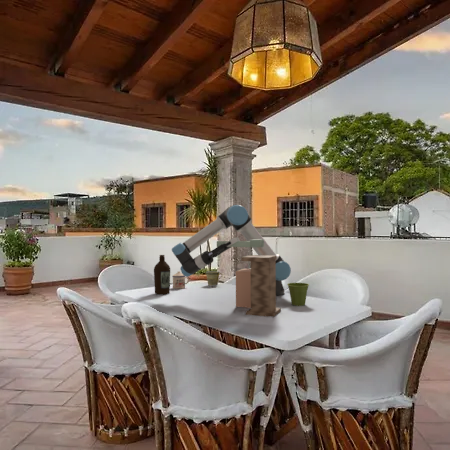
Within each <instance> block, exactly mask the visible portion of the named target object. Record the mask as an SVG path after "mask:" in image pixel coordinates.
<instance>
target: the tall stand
mask: <svg viewBox="0 0 450 450" xmlns="http://www.w3.org/2000/svg"><path fill="white" fill-rule="evenodd" d="M240 260H241V262H250V269H251V308H249V309H248V310H246V311H245V315H246V316H254V317H255V316H256V317H257V316H258V317H270V318H274V317H276V316H277V315H278V314H279V313H280V312H281V311H282V308H281V307H277V295H276V260H277V256H271V255H258V254H249V255H245V256H241V258H240Z"/></svg>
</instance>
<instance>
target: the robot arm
mask: <svg viewBox="0 0 450 450" xmlns="http://www.w3.org/2000/svg"><path fill="white" fill-rule="evenodd" d="M252 220H253V219H252V218H251V217H250V215H249V213H248V210H247V209H246V207H245V206H243V205H240V204H233V205H232V206H228V207H227V208H226V209H225V210H224V211H223V212H222V213H220V214H219V215H218V216H217V217H216V219H215V220H213V221H212V222H211V223H209V224H208V225H206V226H205V227H203V228H202V229H201V230H199V231H198V232H195V234H194V235H192V236H191V237H189V238H188V239H186V240H185V241H183V242H179V243H177V244H176V245H174V246H173V247H172V248H171V252H172V253H173V255H174V256H175V257H176V259H177V261H178V262H179V263H180V265H181V266H180V273H182V274H183V275H184V276H185V277H188V278H189V277H191V276H192V275H194V274H195V273H198V272H199V271H201V270H202V269H205V267H207V266H208V265H211V264H212V263H213V262H214V259H215V258H218V256H220V255H221V254H223V253H224V252H226V251H228V250H230V249H231V248H232V247H229V246H231V245H232V244H234V243H236V242H237V241H241V240H240V238H239V237H238V236H237V237H236V236H234V237H233V238H231V239H229V240H227V241H228V242H226V243H225V244H221V245H220V246H218V247H217V246H216V247H215V248H213V249H212V250H210V251H208V250H205V251H204V252H201V254H198V255H197V256H195V257H194V258H193V256H192V255H191V253H192V252H193V251H195V250H196V249H198V248H199V247H200V246H202V245H203V244H204V243H206V242H208V241H209V240H210V239H211V238H213V237H214V236H217V234H219V233H220V232H221V231H223V230H227V229H229V228H230V227H232V228H233V229H234V230H235V231H236V232H240V233H241V235H242V236H243V238H244V239H245V241H250V240H253V239H264V237H263V236H262V234H260V232H259V231H258V230H257V228H256V227H255V226H254V225H253V223H252ZM251 248H252V249H253V250H254V252H255V253H256V255H271V256H277V260H276V296H282V295H285V289H284V285H283V284H284V283H283V282H282V281H285V280H287V279H288V278H289V277H290V276H291V272H292V271H291V269H292V268H291V266H290V264H289V263H288V262H286V261H284V259H283V258H282V257H281V255H280V254H278V253H276V252H275V251H274V250H273V248H272V247H271V246H270V245H269V244H268V243H267V241H266V240H265V239H264V247H251Z"/></svg>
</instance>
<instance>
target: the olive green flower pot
mask: <svg viewBox="0 0 450 450" xmlns="http://www.w3.org/2000/svg"><path fill="white" fill-rule="evenodd" d="M220 275H221V276H220ZM205 276H206V281H207V285H208V286H209V287H217V286H218V284H219V280H220V279H221V278H222V277H223V273H222V272H221V273H220V271H218V270H209V271H206V272H205Z"/></svg>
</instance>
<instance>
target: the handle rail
mask: <svg viewBox="0 0 450 450" xmlns="http://www.w3.org/2000/svg"><path fill="white" fill-rule="evenodd" d="M264 240H265V239H264V238H263V239H253V240H250V241H247V240H244V241H243V240H240V241H237V242H236V243H234V244H232V245H231V246H229V247H231V248H252V247H264ZM228 241H229V240H218V241H216V248H217V247H218V246H220V245H221V244H225V243H226V242H228Z"/></svg>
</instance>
